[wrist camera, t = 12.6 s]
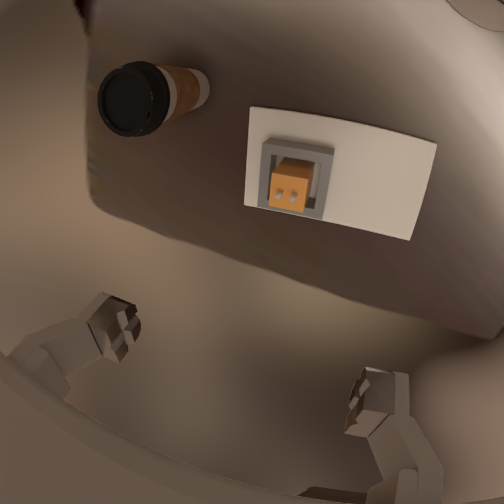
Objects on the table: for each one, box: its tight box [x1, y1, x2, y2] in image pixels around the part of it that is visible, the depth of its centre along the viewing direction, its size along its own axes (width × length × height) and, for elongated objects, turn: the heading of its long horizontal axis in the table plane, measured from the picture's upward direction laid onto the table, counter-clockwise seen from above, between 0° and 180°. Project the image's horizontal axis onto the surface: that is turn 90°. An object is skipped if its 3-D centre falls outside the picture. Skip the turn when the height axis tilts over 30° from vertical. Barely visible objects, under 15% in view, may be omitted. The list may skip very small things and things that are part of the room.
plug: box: [269, 157, 315, 213], centre depth 36 cm, size 4×4×9 cm
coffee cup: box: [98, 61, 210, 137], centre depth 32 cm, size 8×8×15 cm
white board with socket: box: [244, 106, 437, 241], centre depth 37 cm, size 14×24×4 cm, turn 86°
